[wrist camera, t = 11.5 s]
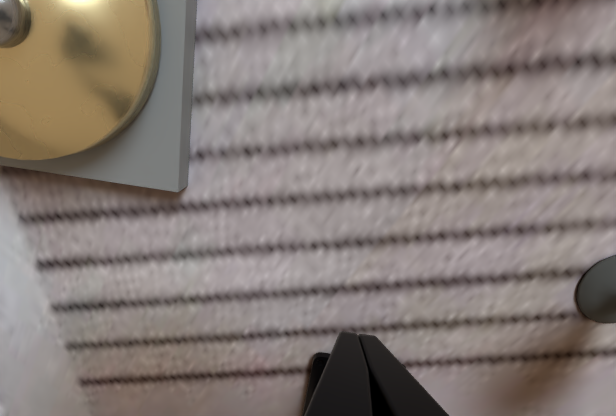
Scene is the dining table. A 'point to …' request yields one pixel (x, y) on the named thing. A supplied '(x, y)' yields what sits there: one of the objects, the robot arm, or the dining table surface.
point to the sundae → (599, 292)
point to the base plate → (146, 120)
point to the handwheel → (73, 72)
